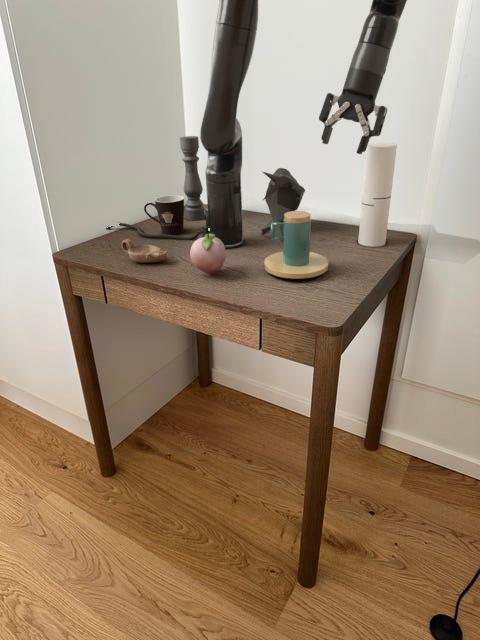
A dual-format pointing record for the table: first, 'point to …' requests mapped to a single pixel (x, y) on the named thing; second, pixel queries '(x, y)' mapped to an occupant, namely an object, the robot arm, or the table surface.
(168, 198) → the coffee mug
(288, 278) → the turntable base
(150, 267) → the table surface
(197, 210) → the candle holder
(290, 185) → the narwhal figurine
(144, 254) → the oil lamp
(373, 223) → the cylindrical container
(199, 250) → the decorative fruit
